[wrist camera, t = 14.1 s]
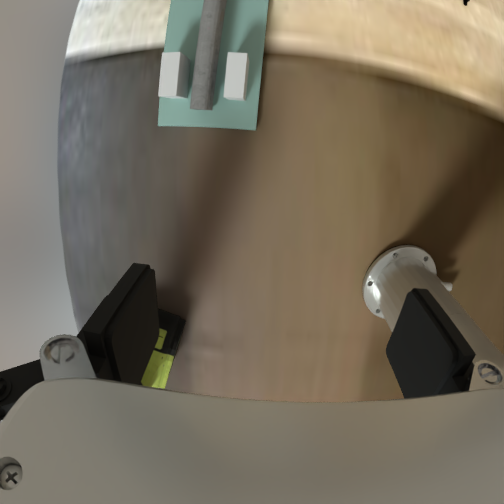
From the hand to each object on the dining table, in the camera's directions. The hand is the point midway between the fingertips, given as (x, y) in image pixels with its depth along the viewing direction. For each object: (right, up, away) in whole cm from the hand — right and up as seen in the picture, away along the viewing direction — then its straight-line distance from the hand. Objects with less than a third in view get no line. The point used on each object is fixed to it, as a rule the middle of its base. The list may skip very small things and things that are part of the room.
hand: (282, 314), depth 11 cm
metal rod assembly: (-5, +31, +18) cm, 36 cm away
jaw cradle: (-5, +31, +19) cm, 37 cm away
